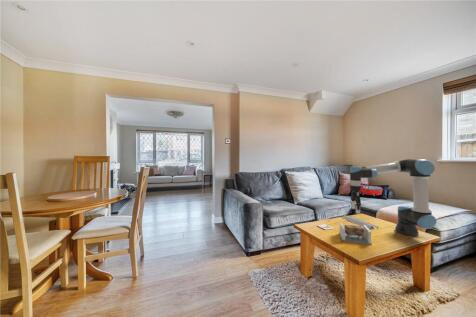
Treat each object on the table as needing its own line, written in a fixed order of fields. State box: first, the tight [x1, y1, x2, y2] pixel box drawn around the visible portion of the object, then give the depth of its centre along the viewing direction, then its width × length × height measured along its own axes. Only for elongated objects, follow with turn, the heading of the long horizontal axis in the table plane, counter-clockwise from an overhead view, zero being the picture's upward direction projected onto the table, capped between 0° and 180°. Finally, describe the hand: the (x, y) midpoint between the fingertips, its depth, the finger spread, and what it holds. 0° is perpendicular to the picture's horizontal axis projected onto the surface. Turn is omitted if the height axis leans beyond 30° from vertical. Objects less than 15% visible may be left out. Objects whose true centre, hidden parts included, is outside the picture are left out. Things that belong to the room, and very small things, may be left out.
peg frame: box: [338, 222, 373, 246], centre depth 149 cm, size 20×14×10 cm
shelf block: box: [344, 224, 364, 236], centre depth 149 cm, size 12×6×6 cm, turn 78°
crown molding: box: [341, 214, 379, 230], centre depth 184 cm, size 31×12×4 cm, turn 15°
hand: (355, 211), depth 150 cm, fingers open, 13 cm apart
